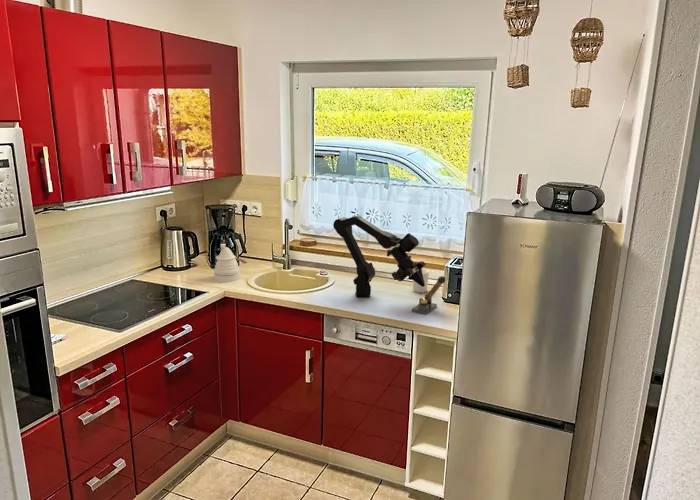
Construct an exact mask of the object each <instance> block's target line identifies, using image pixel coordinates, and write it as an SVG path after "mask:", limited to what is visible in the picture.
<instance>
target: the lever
mask: <svg viewBox="0 0 700 500" xmlns="http://www.w3.org/2000/svg"><path fill="white" fill-rule="evenodd" d="M444 283H446V277H445V276H443V275H441V276H439V277H438V278H437V281H436V282H435V284H434V285H433V286H432V287H431V289H430V290H429V291H428V292H427V293H426V294H427V295H426V297H425V296H424V298H425V299H427V303H428V301H429V300H430V299H431V298H432V297H433V296H434V295H435V294H436V292H437V291H438V290H439V288H441V286H442V285H443V284H444ZM432 299H433V298H432Z"/></svg>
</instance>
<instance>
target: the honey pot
mask: <svg viewBox="0 0 700 500" xmlns="http://www.w3.org/2000/svg"><path fill="white" fill-rule="evenodd" d="M226 245H227V244H226V243H220V247H221V250H220V253H219V255H216V256H215V259H216V262H215V266H214V269H213V272H214V273H213V278H214V279H215V280H216V281H215V280H214V281H215V282H217V281H219V282H218V283H232V282H233V281H234V282H237V281H239V280H240V279H241V275H240V274H241V273H240V272H241V271H240V267H239V265H238V261H237V259H236V257H237V256H236V255H234V253H233V252H232V250H231V249H230V248H229V247H227V246H226ZM234 282H233V283H234Z"/></svg>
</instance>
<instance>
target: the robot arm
mask: <svg viewBox="0 0 700 500" xmlns="http://www.w3.org/2000/svg"><path fill="white" fill-rule="evenodd" d="M353 226H356V227H358V228H359V229H361V230H362V231H364V232H365V233H367V234H368V235H369V236H371V237H373V238H374V239H375V240H376V241H377V243H378V244H379V245H380V246H381V247H382V248H383V249H386V250H387V249H388V250H387V252H386V256H387V257H390V256H392V257H393V259H394V260H395V261H396V262H397V268H398V269H397V270H396V271H393V272H392V273H391V276H392V278H393V280H394V281H398V282H403V281H405V279H406V280H412V281H413V280H414V281H415V282H417V283H418V284H419V285H421V286H422V287H424V286H425V283H424V279H423V274H422V269H424V267H425V266H426V263H425V262H424V261H422V260H421V261H418V262H414V261H413V260H412V259H411V258H412V256H411V255H408V253H411V252H412V251H413V250H414V249H415V248H417V247H418V246H419V244H420V242H419V240H418V238H417V237H415V236H414V235H412V234H411V232H409V233H407V234H405V236H404V237H403V238H400V237H397V236H396V235H395V234H393V233H391V232H389V231H386V230H383V229H381V228H379V227H377V226H376V225H374V223H371V222H370V221H368V220H367V219H366V218H364V217H363V216H362V215H360V214H358V215H354V216H352V217H349V218H348V217H344V216H343V217H340V218H338V219H335V220H334V221H333V224H332V227H333V228H334V230H335V233H337V234H338V235H339V236H340V237H341V238H342V239H343V241H344V243H345V245H346V247H347V249H348V251H349V253H350V255H351V258H352V259H353V261H354V263H355V266H356V268H355V269H356V274H357V276H355V278H354V279H353V280H352V281H353V285H355V292H354V294H355V298H370V297H371V295H372V294H371V293H372V292H371V291H372V290H371V289H372V285H371V282H372V280H373V279H374V278H375V276H376V271H375V270H376V268H375V267H374V265H373V263H372V262H368V261H367V260H366V259H365V256H364V255H363V253H362V250H361V249H360V247H359V244H358V242H357V241H356V238H355V235H354V234H353ZM407 277H408V278H407Z"/></svg>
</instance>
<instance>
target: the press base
mask: <svg viewBox="0 0 700 500" xmlns="http://www.w3.org/2000/svg"><path fill="white" fill-rule="evenodd" d="M427 294H428V293H426V294H424V297H420V298H419V299H418V300H419V301H418V304H417V305H415V306H414V307H412V309H411V312H412V313H417V314H422V315H428V314H430V313H431V312H432V311H433V310H435V309H436V308H437V307H438V304H437V303H435V302H434V303H433V302H432V301H433V300H432V299H433V298H431V299H430V300H429V301H428V303H427V299H425V297H426V295H427Z"/></svg>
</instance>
